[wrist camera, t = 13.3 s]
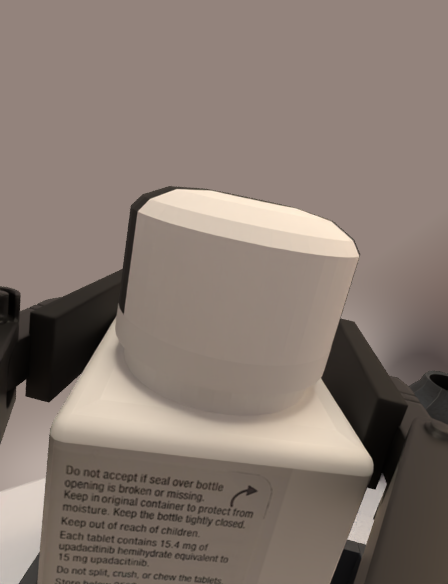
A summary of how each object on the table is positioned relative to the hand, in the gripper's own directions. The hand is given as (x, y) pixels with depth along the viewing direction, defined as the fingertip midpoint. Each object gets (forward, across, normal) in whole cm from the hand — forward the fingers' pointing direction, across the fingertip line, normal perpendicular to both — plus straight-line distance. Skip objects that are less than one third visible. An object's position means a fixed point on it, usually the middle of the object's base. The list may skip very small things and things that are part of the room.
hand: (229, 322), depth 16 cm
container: (-5, 0, -8) cm, 9 cm away
